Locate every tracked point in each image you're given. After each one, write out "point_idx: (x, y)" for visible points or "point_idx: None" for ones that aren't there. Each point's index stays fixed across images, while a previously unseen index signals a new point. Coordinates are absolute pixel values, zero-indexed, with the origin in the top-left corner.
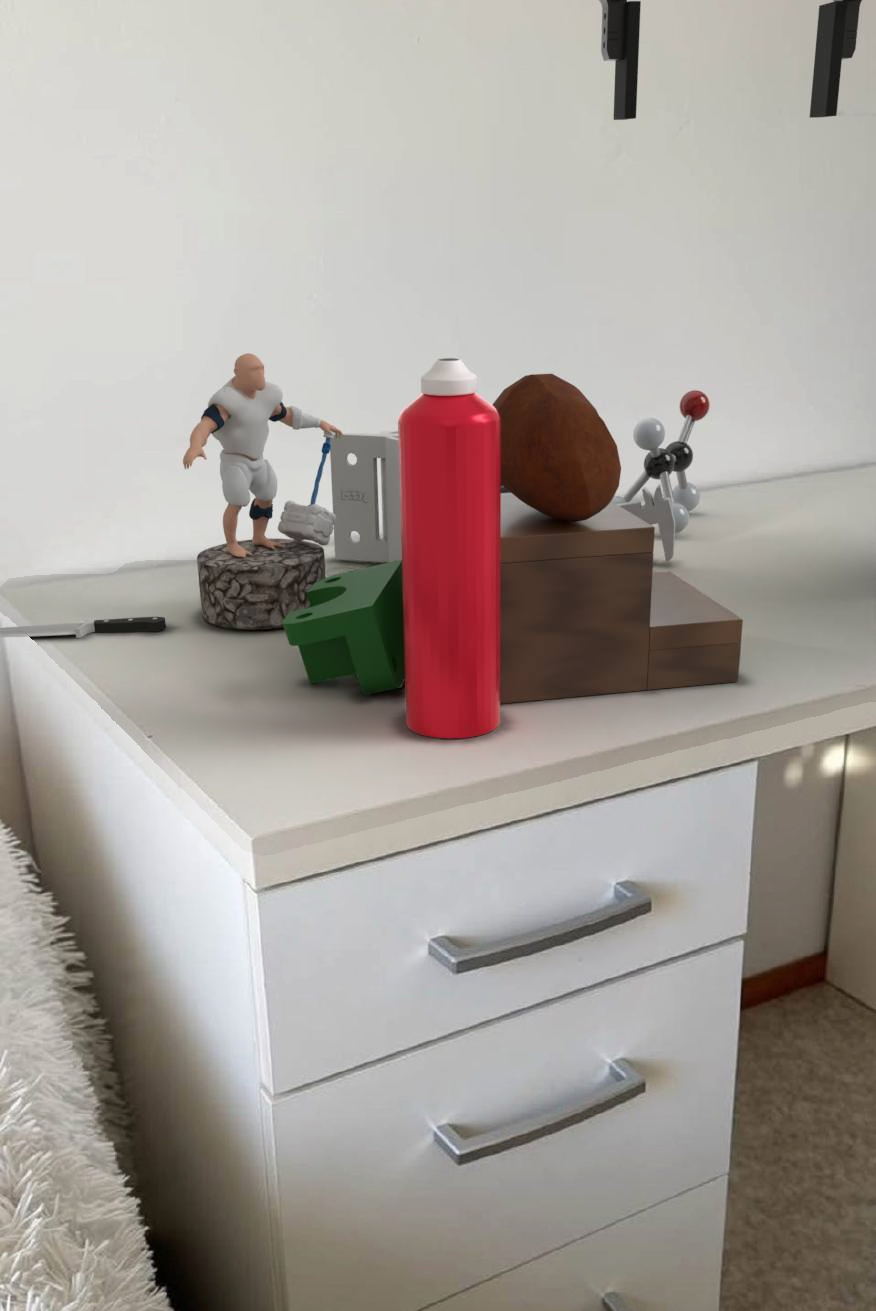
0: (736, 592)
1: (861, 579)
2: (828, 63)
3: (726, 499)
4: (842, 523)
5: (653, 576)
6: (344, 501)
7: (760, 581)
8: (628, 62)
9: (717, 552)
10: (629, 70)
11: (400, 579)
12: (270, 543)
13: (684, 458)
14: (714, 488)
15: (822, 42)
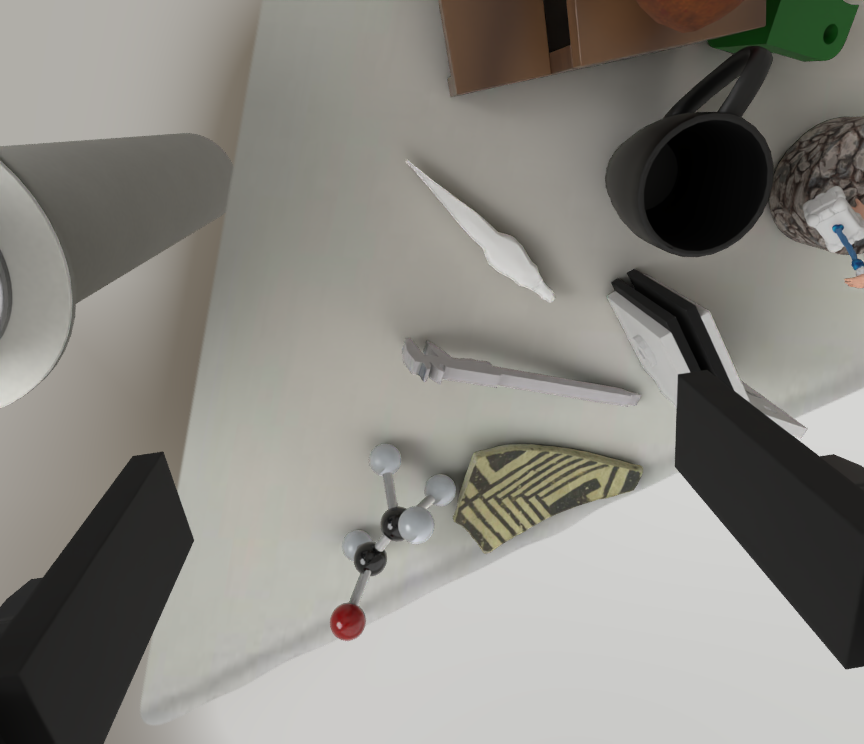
0: (356, 229)
1: (216, 270)
2: (118, 541)
3: (304, 590)
4: (198, 492)
5: (479, 72)
6: (752, 392)
7: (324, 270)
8: (778, 427)
9: (349, 385)
10: (761, 418)
11: (769, 2)
12: (861, 207)
13: (365, 546)
14: (310, 633)
15: (114, 638)
